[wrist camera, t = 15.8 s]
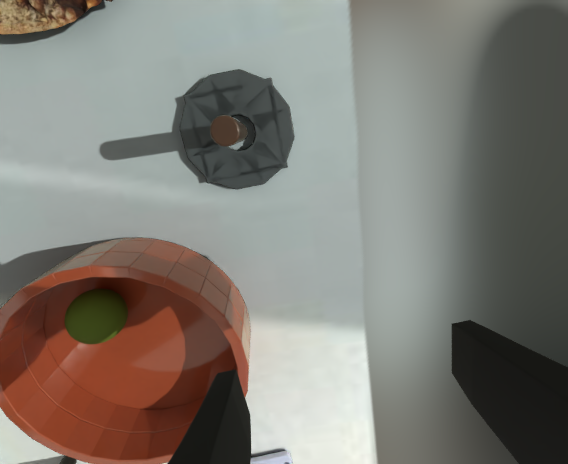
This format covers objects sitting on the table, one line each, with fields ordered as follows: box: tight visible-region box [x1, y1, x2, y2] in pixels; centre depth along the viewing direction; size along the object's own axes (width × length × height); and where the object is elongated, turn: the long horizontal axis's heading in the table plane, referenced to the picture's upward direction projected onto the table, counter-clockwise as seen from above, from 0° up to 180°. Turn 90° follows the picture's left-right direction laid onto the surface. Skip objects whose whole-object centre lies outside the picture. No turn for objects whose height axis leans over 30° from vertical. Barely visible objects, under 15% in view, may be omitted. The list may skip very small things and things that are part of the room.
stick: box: [210, 115, 247, 147], centre depth 13 cm, size 1×1×6 cm
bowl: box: [0, 238, 251, 464], centre depth 18 cm, size 13×13×4 cm
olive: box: [64, 288, 128, 344], centre depth 17 cm, size 3×3×3 cm
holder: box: [180, 69, 294, 189], centre depth 16 cm, size 6×6×1 cm
